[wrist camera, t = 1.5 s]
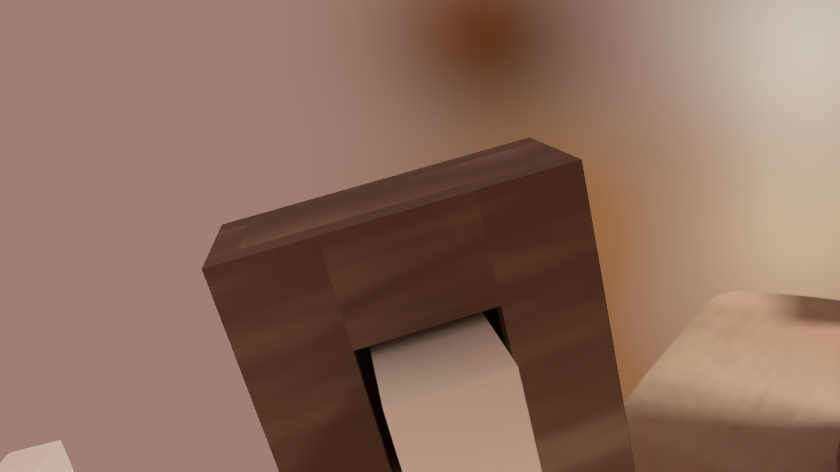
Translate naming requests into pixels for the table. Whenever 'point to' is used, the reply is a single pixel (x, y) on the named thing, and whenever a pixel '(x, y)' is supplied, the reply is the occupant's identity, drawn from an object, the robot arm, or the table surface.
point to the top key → (455, 400)
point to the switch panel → (424, 304)
